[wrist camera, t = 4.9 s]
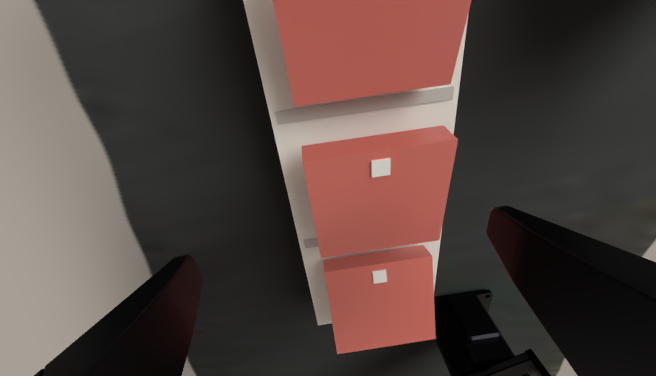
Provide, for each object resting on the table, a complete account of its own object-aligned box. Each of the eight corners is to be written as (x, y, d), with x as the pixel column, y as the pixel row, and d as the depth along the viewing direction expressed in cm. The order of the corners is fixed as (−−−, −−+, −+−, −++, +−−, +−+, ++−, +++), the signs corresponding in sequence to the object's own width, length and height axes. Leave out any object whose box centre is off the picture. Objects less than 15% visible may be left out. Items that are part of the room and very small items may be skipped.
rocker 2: (429, 222, 16) (440, 241, 15) (318, 238, 16) (321, 259, 15) (443, 125, 13) (459, 140, 11) (301, 145, 12) (302, 163, 11)
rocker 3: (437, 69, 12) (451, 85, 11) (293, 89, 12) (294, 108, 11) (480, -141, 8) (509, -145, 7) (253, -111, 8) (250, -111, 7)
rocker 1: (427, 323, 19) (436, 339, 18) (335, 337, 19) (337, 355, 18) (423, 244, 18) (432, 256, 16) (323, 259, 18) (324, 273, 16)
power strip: (412, 289, 27) (430, 329, 23) (319, 303, 27) (322, 346, 23) (438, -129, 12) (494, -187, 9) (234, -101, 12) (208, -149, 9)
